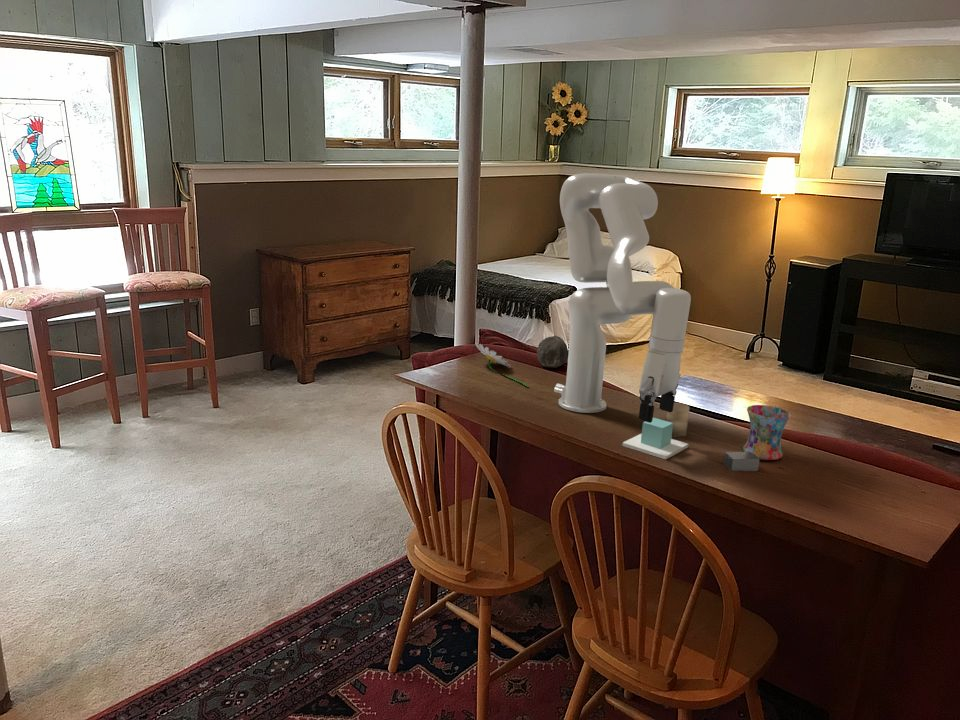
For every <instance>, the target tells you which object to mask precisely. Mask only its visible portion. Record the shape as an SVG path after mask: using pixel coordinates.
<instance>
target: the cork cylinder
mask: <svg viewBox="0 0 960 720" xmlns="http://www.w3.org/2000/svg"><path fill="white" fill-rule="evenodd" d="M666 412H667V411H666ZM689 413H690V406H689V405H688V404H685V403H683V402H682V403H681V402H674V406H673V411H672V412H667V413H666V419H665V421H667V422H671V423H673V429H672V437H674V436H676V438H681V437H682V436H683V437H685V436H687V429H688V424H689V423H688V421H689ZM683 437H682V438H683Z"/></svg>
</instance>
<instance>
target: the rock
mask: <svg viewBox="0 0 960 720" xmlns="http://www.w3.org/2000/svg"><path fill="white" fill-rule="evenodd" d="M536 354H537V359H538V361H539V363H540V364H541V366H543V367H544V368H548V369H549V368H550V369H557V368H559V367H562V366H563V364H565V363H566V362H568V354H569V348H568V346H567V343H566V342H565V340H564V339H563V338H561V337H560V336H557V335H553V336H547V337H545V338H544V339H542V340H540V342H539V344H538V347H537V349H536Z"/></svg>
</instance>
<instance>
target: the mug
mask: <svg viewBox="0 0 960 720" xmlns="http://www.w3.org/2000/svg"><path fill="white" fill-rule="evenodd" d="M746 410H747V415H748V420H749V435H748V439H747V440H746V443H745V444H744V445H743V447H742V450H743V452H751V453H753V454H754V455H755V456H756V457H758V458H759V460H762V461H763V460H764V461H775V460H780V459H781V458H782V457H783V452H782V448H781V447H782V445H781V442H782V441H781V440H782V434H783V432H784V430H785V426H786V425H787V423H788V422H789V420H790V418H791V417H792V414H791V412H789V411H787V410H786V409H784V408H780V407H776V406H772V405H765V404H754V405H749V406H748V407H747V408H746Z"/></svg>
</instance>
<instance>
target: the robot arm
mask: <svg viewBox="0 0 960 720" xmlns="http://www.w3.org/2000/svg"><path fill="white" fill-rule="evenodd" d="M658 200H659V199H658V195H657V193H656V191H655V190H654V189H653V187H652V186H650V185H649V184H647V183H644V182H642V181H639V180H637V179H635V178H631V177H629V176H626V175H623V174H610V173H609V174H608V173H590V172H589V173H588V172H587V173H584V172H583V173H575V174H573V175H570V176H568V178H567V179H565V181H564V182H563V184H562V186H561V190H560V193H559V206H560V212H561V216H562V218H563V222H564V226H565V229H566V230H565V231H566V234H567V235H566V236H567V246H568V249H567V250H568V257H569V266H570V267H569V269H570V272H571V276H572V278H573V280H575V281H577V282H578V283H591V284H592V283H605V284H606V286H600V287H599V286H598V287H597V286H595V287H593V286H591V287H590V286H589V287H584V288H580V289H577V290H576V291H574V292H572V294H571V295H570V296H569V298H568V299H569V300H568V303H567V305H568V307H567V308H568V318H569V319H568V320H569V339H568V340H569V341H568V357H567V370H566V379H565V381H566V382H565V385H564V384H562V383H556V384H555V387H554V389H553V391H554V392H555V393H557V394H561V397H560V398H559V399H558V405H559V407H561V408H562V409H564V410H567V411H571V412H575V413H580V414H581V413H582V414H584V413H585V414H595V413H601V412H603V411H605V410H606V409H607V405H608V404H607V402H606V401H605V400H604V399H602V393H603V392H602V391H603V382H604V371H605V362H606V352H607V339H606V337H605V334H604V332H603V330H602V329H601V325H611V324H612V325H613V324H621V323H623V324H624V323H626V322H628V321H630V319H631V318H632V317H633V316H636V315H637V316H638V315H641V316H642V315H652V320H651V321H652V322H651V327H650V328H651V329H650V336H649V342H648V347H647V348H648V350H647V353H646V356H645V359H644V363H643V369H642V373H641V378H640V383H639V389H638V390H639V403H640V405H639V411H638V412H639V413H638V419H639V420H640V421H643V422H645V421H646V422H649V423H651V422H652V420H653V418H654V412H655V405H654V404H655V401H656V400H657V397H660V402H659V409H660V410H661V411H664V412H672V411H673V406H674V403H675V400H676V399H675V398H676V395H677V389H678V387H679V382H680V379H681V373H680V371H681V361H682V360H681V359H682V354H683V353H684V347H685V341H686V333H687V327H688V323H689V322H688V320H689V316H690V314H689V313H690V308H691V300H692V296H691V294H690V292H688V291H686V290H684V289H681V288H677V287H674V286H673V285H672V284H670V283H669V282H666V281H663V280H644V281H643V280H642V281H640V280H639V281H634V280H633V271H632V265H631V259H630V257H631V256H633V255H635V254H637V253H638V252H640V251H641V250H643V249H644V248H645V247H647V245H648V244H649V243H650V242H649V241H650V234H649V232H648V230H647V229H648V228H647V226H646V223H645V221H644V220H647V219H651V218H652V217H653V216H655V214H656V212H657V210H658V206H659V205H658V204H659V201H658ZM590 209H600V210H601V215H602V216H603V219H604V223H605V225H606V228H607V231H608V234H609V238H610V240H611V243H612V245H604V244H603V243H602V236H601V227H600V225H599V223H598V221H597V218H595V216H594V214H592V212H590ZM649 396H651V397H649Z"/></svg>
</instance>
